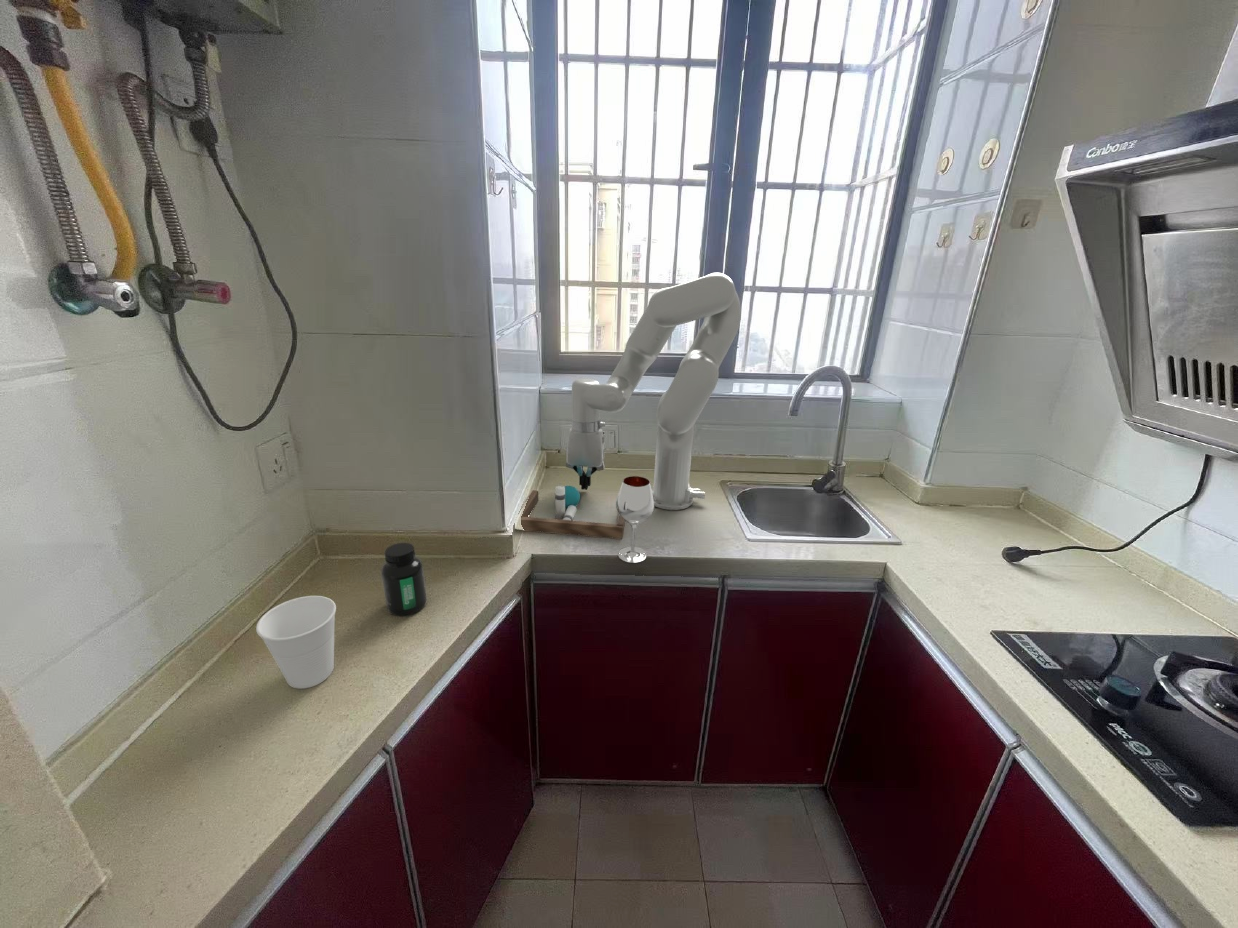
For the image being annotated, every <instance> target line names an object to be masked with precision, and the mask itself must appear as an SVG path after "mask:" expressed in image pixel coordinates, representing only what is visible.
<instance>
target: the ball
mask: <svg viewBox="0 0 1238 928" xmlns="http://www.w3.org/2000/svg"><path fill="white" fill-rule="evenodd" d="M563 486H564V485H563ZM564 487H565V509H567V508H568V506H570V505H573V506H575V507H577V505H578V504H579V502H580V500H581V494H580V492H579V490H578V489H577V488H576V487H575V486H572V485H565V486H564Z"/></svg>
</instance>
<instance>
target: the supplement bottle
mask: <svg viewBox="0 0 1238 928" xmlns="http://www.w3.org/2000/svg"><path fill="white" fill-rule="evenodd" d="M384 556H385V557H384V560H385V562H384V564H383V565H382V567H381V571H380V572H381V579H382V584H383V591H384V592H383V593H384V597H385V604H386V609H387V611H388V612H389V613H390V614H392V615H393V616H395V617H407V616H411V615H414V614H417V613H418V612H420V611H421V610H422V609H423V608H424V607H425V606H426V604H427V590H426V581H425V574H424V573H425V572H424V566H423V563H422V560H421V559H420V558H419V557H418V556H416V551H415V546H414V545H413V544H412V543H409V542H397V543H394V544H391V545H389V546H388V547H387V548H385V550H384Z"/></svg>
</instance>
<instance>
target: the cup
mask: <svg viewBox="0 0 1238 928" xmlns="http://www.w3.org/2000/svg"><path fill="white" fill-rule="evenodd" d="M336 611H337V605H336V603H335V601H334V600H332V599H331V598H329V597H326V596H322V595H306V596H305V595H304V596H301V597H296V598H291V599H290V600H286V601H284V602H282V603H280V604H278V605H276V606H274V607H273V608H270V610H268V611H266V613H264V614H263V615H262V616H261V617H260V619H259V620H258V621H257V623H256V627H255V628H256V629H255V631H256V634H257V635H258V636H259V637H260V638H261V639H262V641H263V642H264V645H265V646H266V647H267V649H268V651H269V652H270V655H271V656H272V658H273V659H274V662H275V664H276V665H277V666H278V668H279V670H280V672H281V674H282V676H283V677H284V679H285V682H286V683H287V685H288V686H289V687H291V688H293V689H303V690H304V689H309V688H313V687H315V686H318V685H320V684H321V683H323V682H324V681H325V680H326V679H328V678H329V677H330V676H331V675H332V673H333V671H334V668H335V623H336V622H335V615H336Z"/></svg>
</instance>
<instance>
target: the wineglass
mask: <svg viewBox="0 0 1238 928" xmlns="http://www.w3.org/2000/svg"><path fill="white" fill-rule="evenodd" d="M652 490H653V488H652V485H651V481H650V479H648V478H647V477H644V476H639V475H630V476H627V477H625V478H623V479H622V482H621V485H620V488H619V491H618V494H617V497H616V501H615V508H616V511H617V513H618V516H619V515H620V516H621V517H622V518H623V519H624V520H625V521H626V522H627V523H628V524H629V525H630V526H631V542H630V543H631V545H630V546H627V547H623V548H621V549H620V550H618V553H620V554H618V553H617V556H618V558H619V559H620V560H622V561H623V562H624V563H629V564H639V563H641V562H644V561H645V560H646V559H647V556H646V555H647V552H646V551H645V550H643V549H642V548H639V547H636V532H637V529H636V528H637V527H638V526H639V525H640V524H642V523H643V522H645V521H647V519H649V518H650V517H651V516H652V514H653V513H654V509H655V506H654V498H653V493H652ZM640 553H641V554H643V553H645V554H643V555H644V556H643V555H641V554H640ZM621 554H622V555H621Z"/></svg>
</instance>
